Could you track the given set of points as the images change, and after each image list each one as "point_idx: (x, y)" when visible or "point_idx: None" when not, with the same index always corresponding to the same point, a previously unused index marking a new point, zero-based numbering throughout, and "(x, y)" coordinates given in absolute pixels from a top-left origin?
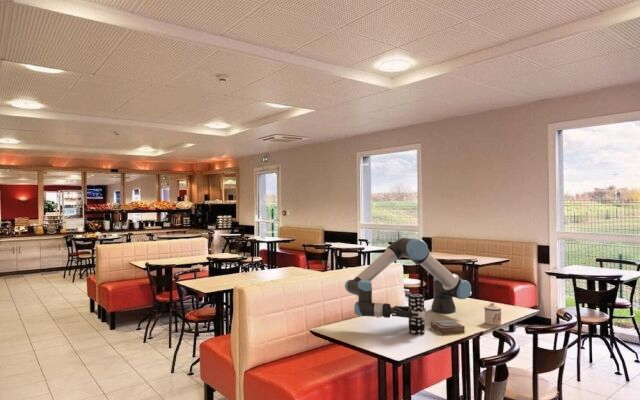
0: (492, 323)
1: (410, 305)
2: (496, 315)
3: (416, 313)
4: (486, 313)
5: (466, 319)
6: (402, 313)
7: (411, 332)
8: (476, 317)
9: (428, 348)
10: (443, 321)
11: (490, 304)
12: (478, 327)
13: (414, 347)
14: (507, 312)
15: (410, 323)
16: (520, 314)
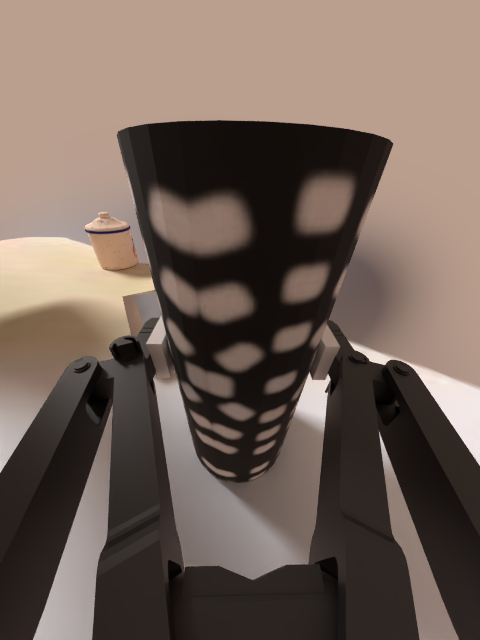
0: (135, 261)
1: (329, 310)
2: (132, 240)
3: (329, 328)
4: (115, 244)
5: (61, 289)
6: (460, 461)
7: (278, 452)
8: (52, 276)
9: (421, 369)
10: (154, 310)
11: (101, 218)
12: (152, 279)
13: (472, 420)
14: (41, 248)
15: (284, 432)
16: (69, 241)
